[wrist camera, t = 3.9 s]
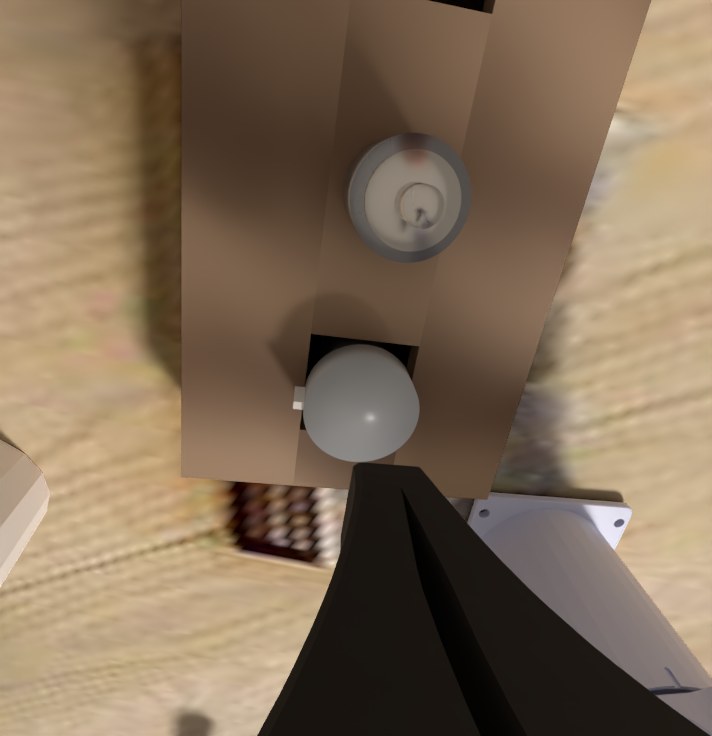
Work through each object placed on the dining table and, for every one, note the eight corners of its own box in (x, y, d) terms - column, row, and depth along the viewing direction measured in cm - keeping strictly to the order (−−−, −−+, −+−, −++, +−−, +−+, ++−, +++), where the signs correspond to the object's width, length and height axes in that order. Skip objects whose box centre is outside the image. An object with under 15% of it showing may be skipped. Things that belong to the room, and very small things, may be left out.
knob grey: (385, 390, 19) (407, 466, 14) (295, 381, 19) (287, 456, 14) (401, 312, 18) (430, 366, 13) (304, 300, 17) (299, 352, 13)
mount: (457, 440, 21) (487, 499, 17) (207, 417, 19) (181, 476, 16) (625, -163, 13) (746, -290, 9) (224, -274, 12) (181, -476, 8)
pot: (427, 247, 13) (473, 284, 9) (337, 234, 13) (344, 266, 9) (447, 148, 12) (508, 141, 8) (350, 131, 12) (365, 116, 8)
